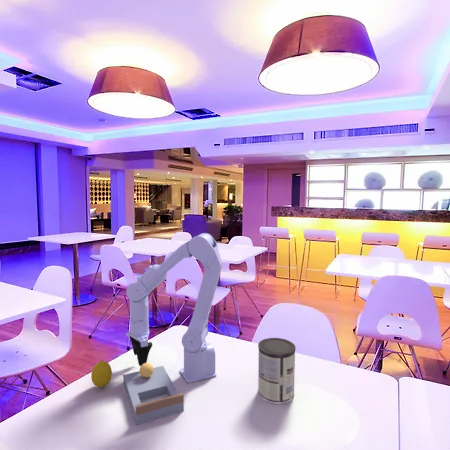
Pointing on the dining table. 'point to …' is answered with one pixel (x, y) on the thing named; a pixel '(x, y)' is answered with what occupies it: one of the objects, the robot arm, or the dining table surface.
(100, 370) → the lemon
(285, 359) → the coffee can
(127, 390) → the grey piece
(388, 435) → the dining table surface
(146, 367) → the ball
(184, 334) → the robot arm
